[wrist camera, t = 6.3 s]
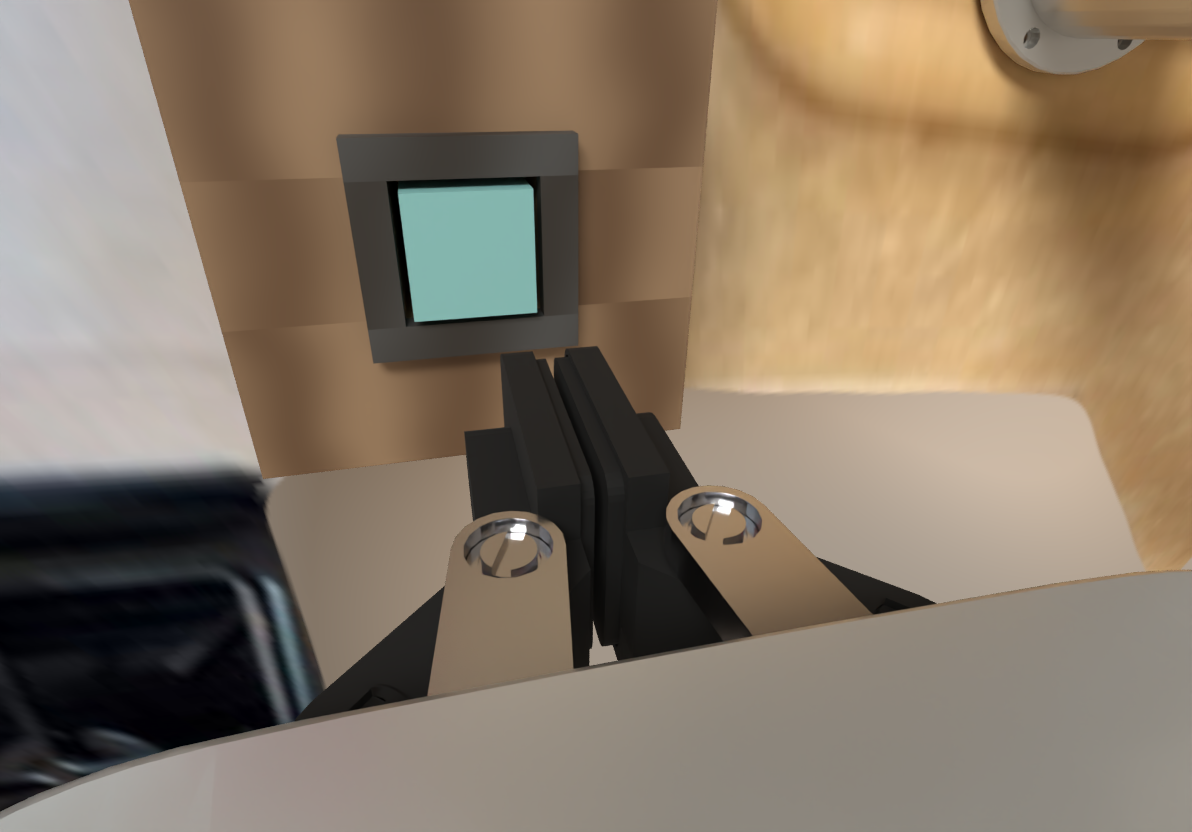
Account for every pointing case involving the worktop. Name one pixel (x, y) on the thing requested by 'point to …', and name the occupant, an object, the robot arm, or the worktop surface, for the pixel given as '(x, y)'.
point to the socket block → (429, 152)
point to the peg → (469, 247)
